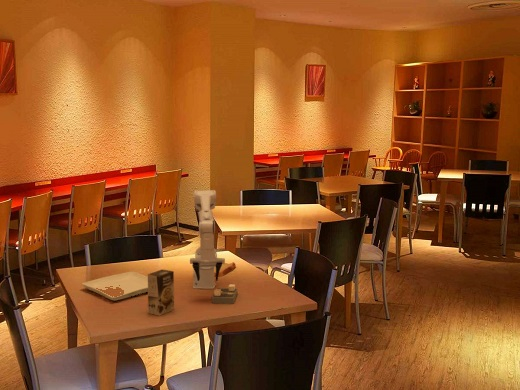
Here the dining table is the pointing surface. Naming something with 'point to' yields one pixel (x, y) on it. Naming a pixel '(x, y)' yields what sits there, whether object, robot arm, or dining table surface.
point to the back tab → (231, 287)
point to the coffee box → (160, 292)
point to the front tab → (217, 292)
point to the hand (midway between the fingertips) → (207, 280)
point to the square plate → (127, 281)
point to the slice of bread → (224, 269)
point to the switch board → (225, 296)
